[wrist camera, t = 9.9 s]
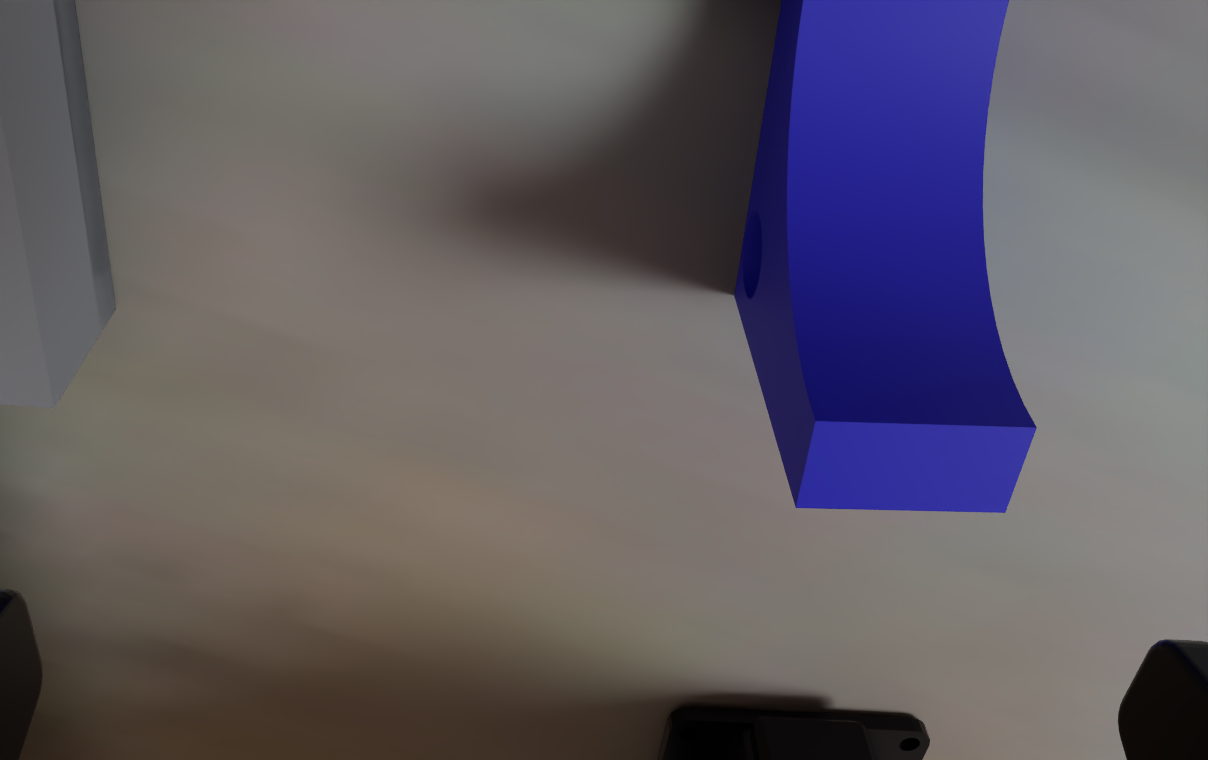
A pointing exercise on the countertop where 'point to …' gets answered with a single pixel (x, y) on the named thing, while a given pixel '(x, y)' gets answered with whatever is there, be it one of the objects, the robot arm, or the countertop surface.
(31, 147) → the parts tray
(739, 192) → the countertop surface
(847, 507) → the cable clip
